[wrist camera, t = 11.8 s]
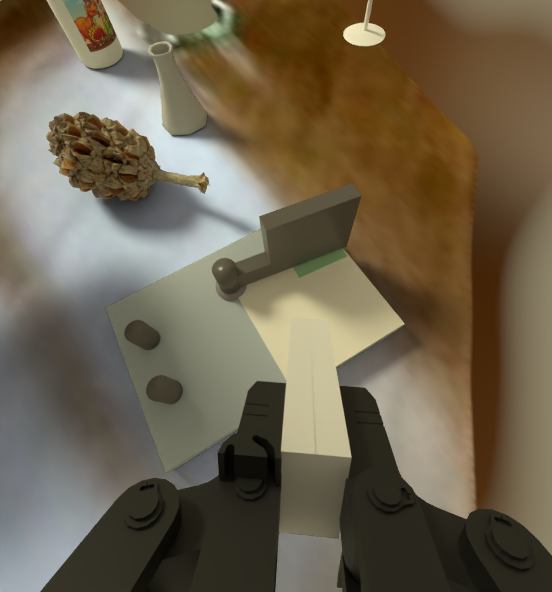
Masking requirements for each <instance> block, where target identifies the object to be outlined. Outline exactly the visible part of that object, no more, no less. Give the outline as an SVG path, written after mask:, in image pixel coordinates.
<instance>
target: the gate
mask: <svg viewBox="0 0 552 592" xmlns="http://www.w3.org/2000/svg"><path fill="white" fill-rule="evenodd" d="M360 199H361V194H360V193H359V191H358V190H357V189H356V187H355V186H354V184H353V183H351V184H349V185H346V186H343V187H340V188H337V189H335V190H332V191H329V192H326V193H324V194H321V195H318V196H315V197H312V198H310V199H307V200H304V201H301V202H298V203H296V204H293V205H290V206H287V207H285V208H282V209H279V210H276V211H273V212H271V213H268V214H265V215H262V216H259V218H260V225H261V231H262V238H263V244H264V250H265V252H262V253H260V254H257V255H254V256H252V257H249V258H246V259H244V260H241V261H238V262H236V263H235V262H234V261H233V260H231V259H229V258H221V259H219V260H217V261H216V262H215V263H214V264H213V266H212V273H213V275H214V277H215V279H216V281H217V283H218V285H219V287H220V289H221V291H222V292H224V293H226V294H233V293H236V292H237V291H238V290H239V289H240V288H241V287H242V286H245V285H248V284H250V283H253V282H255V281H258V280H261V279H263V278H266V277H268V276H271V275H274V274H276V273H279V272H281V271H284V270H287V269H289V268H292V267H294V266H297V265H300V264H302V263H305V262H307V261H310V260H313V259H315V258H318V257H320V256H323V255H326V254H328V253H331V252H333V251H336V250H339V249H341V248H344V247H346V246H347V243H348V240H349V236H350V233H351V229H352V226H353V223H354V219H355V216H356V212H357V209H358V206H359V202H360Z"/></svg>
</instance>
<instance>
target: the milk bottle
mask: <svg viewBox="0 0 552 592" xmlns="http://www.w3.org/2000/svg"><path fill="white" fill-rule="evenodd" d="M47 2H48V3H49V5H50V7H51V9H52V11H53V12H54V14H55V16H56V18H57V19H58V21H59V23H60V25H61V26H62V28H63V30H64V32H65V33H66V35H67V37H68V39H69V40H70V42H71V44H72V46H73V47H74V49H75V51H76V53H77V54H78V56H79V58H80V59H81V61H82V63H83V64H84V65H86V66H87V67H89V68H93V69H101V68H106V67H109V66H111V65H113V64H115V63H117V62H118V61H119V60H120V59H121V57H122V55H123V50H122V47H121V44H120V42H119V40H118V38H117V35H116V33H115V31H114V29H113V26H112V24H111V22H110V20H109V17H108V15H107V13H106V11H105V8H104V6H103V4H102V2H101V0H47Z"/></svg>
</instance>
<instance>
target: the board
mask: <svg viewBox="0 0 552 592" xmlns="http://www.w3.org/2000/svg"><path fill="white" fill-rule="evenodd" d="M262 252H265V250H264V244H263V238H262V231H261V229H259V230H257V231H255V232H253V233H251V234H249V235H247V236H245V237H244V238H242V239H240V240H238V241H236V242H234V243H232V244H230V245H228V246H226V247H224V248H222V249H220V250H218V251H216V252H214V253H212V254H210V255H208V256H206V257H204V258H202V259H200V260H198V261H196V262H194V263H192V264H190V265H188V266H186V267H184V268H182V269H180V270H178V271H176V272H174V273H172V274H170V275H168V276H166V277H164V278H162V279H161V280H159V281H157V282H155V283H153V284H151V285H149V286H147V287H145V288H143V289H141V290H139V291H137V292H135V293H133V294H131V295H129V296H127V297H125V298H123V299H121V300H119V301H117V302H115V303H113V304H111V305H109V306H107V307H105V309H106V312H107V314H108V317H109V320H110V323H111V325H112V328H113V331H114V334H115V336H116V339H117V342H118V345H119V347H120V350H121V353H122V355H123V358H124V361H125V364H126V366H127V369H128V372H129V375H130V377H131V380H132V383H133V386H134V388H135V391H136V394H137V397H138V399H139V402H140V405H141V408H142V410H143V413H144V416H145V418H146V421H147V424H148V427H149V429H150V432H151V435H152V438H153V440H154V443H155V446H156V449H157V451H158V454H159V457H160V460H161V462H162V465H163V468H164V470H165V473H167V472H170V471H172V470H175V469H176V468H178V467H179V466H181V465H183V464H184V463H186V462H187V461H189V460H191V459H192V458H194V457H195V456H197V455H199V454H200V453H202V452H204V451H205V450H207V449H208V448H210V447H212V446H213V445H215V444H216V443H218V442H220V441H221V440H223V439H224V438H226V437H228V436H229V435H231V434H232V433H234V432H236V431H237V430H238V428H239V424H240V420H241V416H242V412H243V408H244V406H245V401H246V397H247V393H248V390H249V389H250V388H251V387H252V386H253V385H254V384H255V382H256V381H265V382H278V383H286V380H287V367H288V355H289V342H290V329H291V318H306V319H323V320H328V325H329V330H330V336H331V342H332V348H333V353H334V359H335V365H336V369H337V368H338V367H340V366H341V365H343V364H345V363H346V362H348V361H349V360H351V359H353V358H354V357H356V356H357V355H359V354H361V353H362V352H364V351H365V350H367V349H369V348H370V347H372V346H373V345H375V344H377V343H378V342H380V341H381V340H383V339H385V338H386V337H388V336H389V335H391V334H393V333H394V332H396V331H397V330H399V329H400V328H401V327H402V326H403V325H404V322H403V321H402V320H401V319H400V317H399V316H398V315H397V314H396V313H395V311H394V310H393V309H392V308H391V306H390V305H389V304H388V303H387V302H386V300H385V299H384V298H383V297H382V295H381V294H380V293H379V292H378V291H377V289H376V288H375V287H374V286H373V284H372V283H371V282H370V281H369V279H368V278H367V277H366V276H365V275H364V273H363V272H362V271H361V270H360V268H359V267H358V266H357V265H356V264H355V262H354V261H353V260H352V259H351V257H350V256H349V255H348V254H347V252H346V251H345V250H344V249H343V248H341V249H339V250H336V251H333V252H331V253H328V254H326V255H323V256H320V257H318V258H315V259H313V260H310V261H307V262H305V263H302V264H300V265H297V266H294V267H292V268H289V269H287V270H284V271H281V272H279V273H276V274H274V275H271V276H268V277H266V278H263V279H261V280H258V281H255V282H253V283H250V284H248V285H245V286H242V287H241V288H240V289H239V290H238V291H237V292H236V293H233V294H226V293H224V292H222V291H221V289H220V287H219V285H218V283H217V281H216V279H215V277H214V275H213V273H212V266H213V264H214V263H215V262H216V261H217V260H219V259H221V258H229V259H231V260H233V261H234V262H235V263H236V262H238V261H241V260H244V259H246V258H249V257H252V256H254V255H257V254H260V253H262Z"/></svg>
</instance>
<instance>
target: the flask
mask: <svg viewBox="0 0 552 592" xmlns="http://www.w3.org/2000/svg"><path fill="white" fill-rule="evenodd" d="M148 53H149V55H150V56H151V57H152V58H153V60H154V62H155V65H156V68H157V72H158V76H159V81H160V90H161V103H162V124H163V127H164V128H165V129H166V130H167V131H168V132H169V133H170V134H171V135H187V134H192V133H193V132H195V131H197V130H199V129H201V128H203V127H204V126H206V119H207V112H206V111H205V109H204V108H203V106H202V105H201V104H200V102H199V101H198V99H197V98H196V97H195V95H194V94H193V92H192V91H191V89H190V88H189V86H188V85H187V83H186V81H185V80H184V78H183V77H182V75H181V73H180V71H179V69H178V67H177V65H176V62H175V59H174V56H173V46H172V45H171V44H170V43H169V42H168V41H167V42H157V43H155V44H153V45H151V46H150V47H149V50H148Z"/></svg>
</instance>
